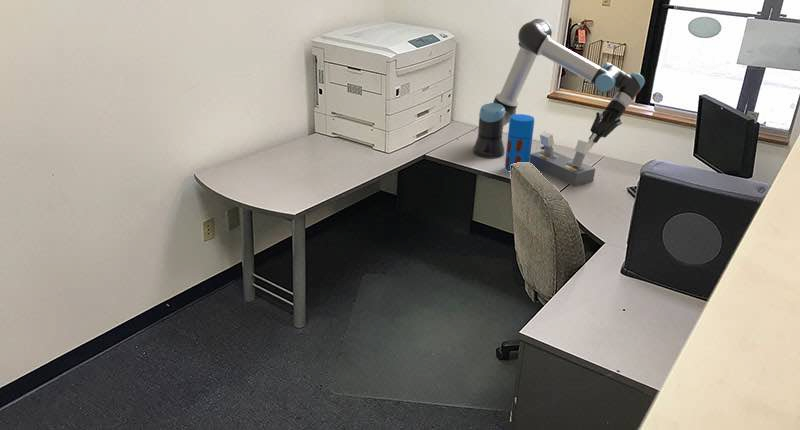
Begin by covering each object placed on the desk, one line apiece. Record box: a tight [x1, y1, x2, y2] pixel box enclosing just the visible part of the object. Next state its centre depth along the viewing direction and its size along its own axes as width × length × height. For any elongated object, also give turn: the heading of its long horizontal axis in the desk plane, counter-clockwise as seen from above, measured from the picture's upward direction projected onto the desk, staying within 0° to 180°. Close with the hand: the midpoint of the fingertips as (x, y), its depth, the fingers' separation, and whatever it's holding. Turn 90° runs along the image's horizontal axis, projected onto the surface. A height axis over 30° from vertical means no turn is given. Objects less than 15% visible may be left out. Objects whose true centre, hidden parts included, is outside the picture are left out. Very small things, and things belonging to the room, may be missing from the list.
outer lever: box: [572, 139, 591, 167], centre depth 275 cm, size 5×3×11 cm, turn 34°
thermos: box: [504, 113, 535, 171], centre depth 281 cm, size 11×11×25 cm
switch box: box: [529, 149, 596, 187], centre depth 283 cm, size 28×12×7 cm, turn 34°
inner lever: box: [539, 130, 555, 157], centre depth 284 cm, size 5×3×11 cm, turn 34°
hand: (587, 147), depth 275 cm, fingers closed
